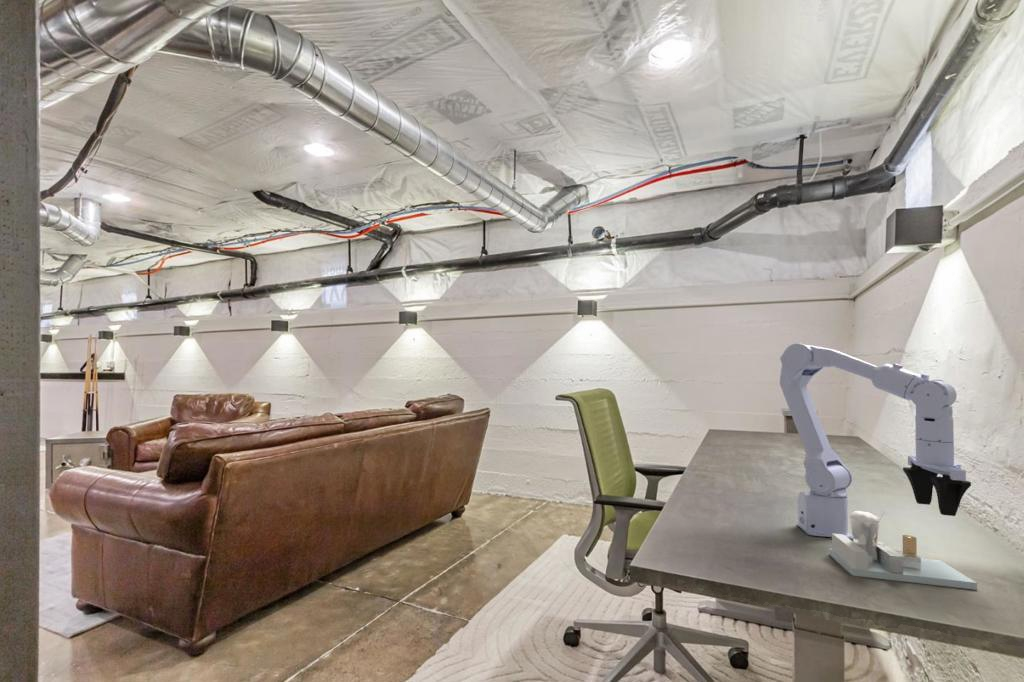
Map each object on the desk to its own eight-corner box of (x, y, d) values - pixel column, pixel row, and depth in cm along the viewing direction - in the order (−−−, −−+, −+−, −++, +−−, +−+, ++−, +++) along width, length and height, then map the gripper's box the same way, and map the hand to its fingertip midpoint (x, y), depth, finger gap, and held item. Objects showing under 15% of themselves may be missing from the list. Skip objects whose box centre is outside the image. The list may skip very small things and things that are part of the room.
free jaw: (890, 572, 85) (890, 543, 86) (863, 551, 95) (862, 525, 95) (933, 577, 84) (932, 547, 84) (900, 555, 93) (900, 528, 94)
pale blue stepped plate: (852, 575, 87) (852, 551, 87) (829, 554, 96) (829, 533, 96) (976, 589, 82) (976, 564, 82) (939, 566, 92) (939, 543, 92)
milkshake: (882, 569, 87) (881, 513, 87) (847, 559, 91) (847, 506, 91) (887, 563, 90) (887, 509, 90) (853, 554, 94) (853, 502, 94)
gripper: (985, 447, 87) (986, 522, 86) (934, 436, 101) (935, 501, 100) (939, 445, 89) (940, 518, 88) (896, 434, 103) (896, 498, 102)
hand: (935, 509), depth 94 cm, fingers open, 7 cm apart
